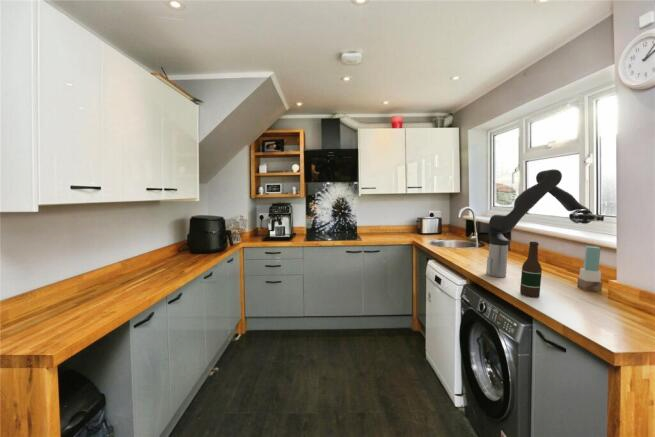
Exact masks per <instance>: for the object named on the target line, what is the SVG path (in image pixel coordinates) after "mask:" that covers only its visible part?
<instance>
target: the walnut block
mask: <svg viewBox="0 0 655 437" xmlns="http://www.w3.org/2000/svg"><path fill="white" fill-rule="evenodd" d="M576 283H577V284H576V286H577V287H578V288H577V287H576V288H577V289H579V288H580V290H581V291H583V292H588V293H597V292H601V293H602V292H603V291H602V290H603V282H602V281H600V282H591V281H585V280H582V279H580V278H579V277H578V278H577V282H576Z"/></svg>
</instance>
